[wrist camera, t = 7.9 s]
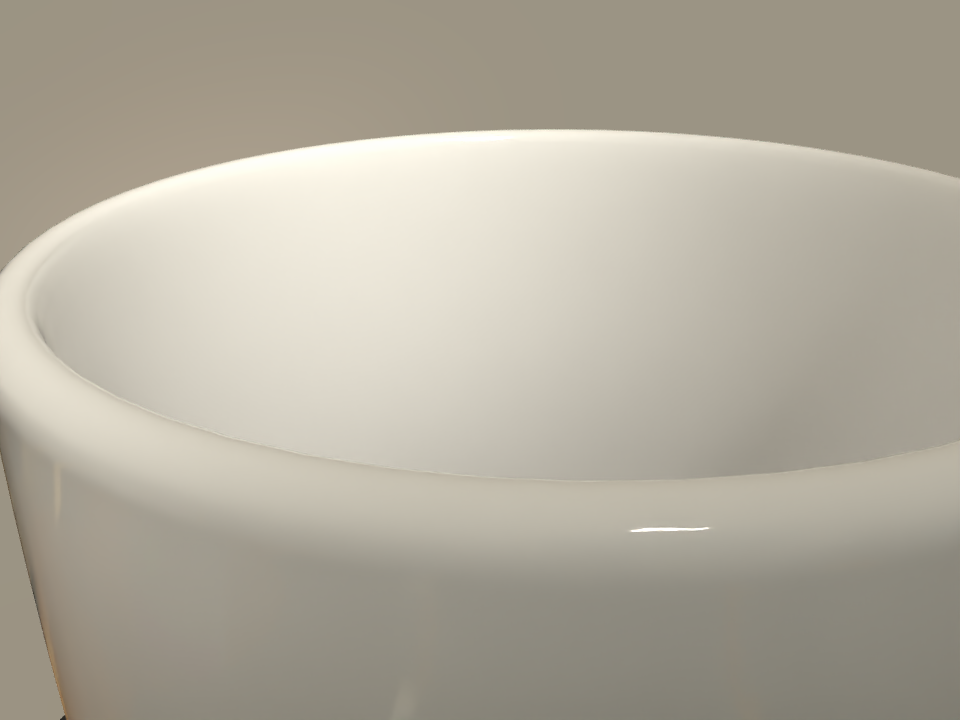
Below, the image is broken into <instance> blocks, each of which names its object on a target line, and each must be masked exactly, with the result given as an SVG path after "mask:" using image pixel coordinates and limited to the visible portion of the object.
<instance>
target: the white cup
mask: <svg viewBox="0 0 960 720" xmlns="http://www.w3.org/2000/svg"><path fill="white" fill-rule="evenodd" d="M0 455H1V459H2V464H3V468H4V473H5V477H6V481H7V486H8V490H9V494H10V499H11V504H12V508H13V512H14V517H15V521H16V525H17V529H18V534H19V538H20V542H21V546H22V550H23V555H24V559H25V563H26V568H27V571H28V576H29V579H30V584H31V588H32V591H33V595H34V599H35V603H36V607H37V611H38V615H39V619H40V623H41V627H42V631H43V635H44V638H45V642H46V646H47V650H48V654H49V658H50V662H51V665H52V669H53V673H54V677H55V680H56V684H57V687H58V691H59V695H60V698H61V701H62V705H63V709H64V713H65V716H66V720H960V178H957V177H953V176H950V175H946V174H942V173H938V172H934V171H931V170H926V169H922V168H917V167H913V166H909V165H904V164H900V163H895V162H890V161H885V160H880V159H875V158H870V157H865V156H859V155H854V154H848V153H842V152H837V151H830V150H824V149H817V148H810V147H804V146H797V145H789V144H782V143H774V142H766V141H756V140H747V139H738V138H728V137H716V136H705V135H693V134H679V133H663V132H644V131H620V130H579V129H569V130H568V129H539V130H538V129H531V130H492V131H491V130H489V131H466V132H447V133H433V134H418V135H406V136H395V137H383V138H374V139H364V140H355V141H348V142H340V143H332V144H324V145H318V146H311V147H304V148H298V149H291V150H286V151H280V152H274V153H268V154H263V155H258V156H253V157H248V158H243V159H238V160H234V161H229V162H225V163H220V164H216V165H212V166H208V167H204V168H200V169H196V170H192V171H188V172H185V173H181V174H177V175H174V176H171V177H167V178H164V179H161V180H157V181H155V182H151V183H148V184H146V185H142V186H140V187H137V188H134V189H131V190H128V191H126V192H123V193H120V194H118V195H115V196H113V197H111V198H108V199H106V200H104V201H101V202H98V203H96V204H94V205H92V206H90V207H88V208H86V209H84V210H82V211H80V212H78V213H76V214H74V215H72V216H70V217H68V218H66V219H65V220H63V221H61V222H59V223H58V224H56V225H54V226H53V227H51V228H49V229H48V230H46V231H45V232H43V233H42V234H41V235H39V236H38V237H37V238H35V239H34V240H33V241H31V242H30V243H29V244H27V245H26V246H25V247H23V248H22V249H21V250H20V251H19V252H18V253H17V254H16V255H15V256H14V257H13V258H12V259H11V260H10V261H9V262H8V263H7V264H6V265H5V266H4V267H3V269H2V270H1V271H0Z"/></svg>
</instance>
